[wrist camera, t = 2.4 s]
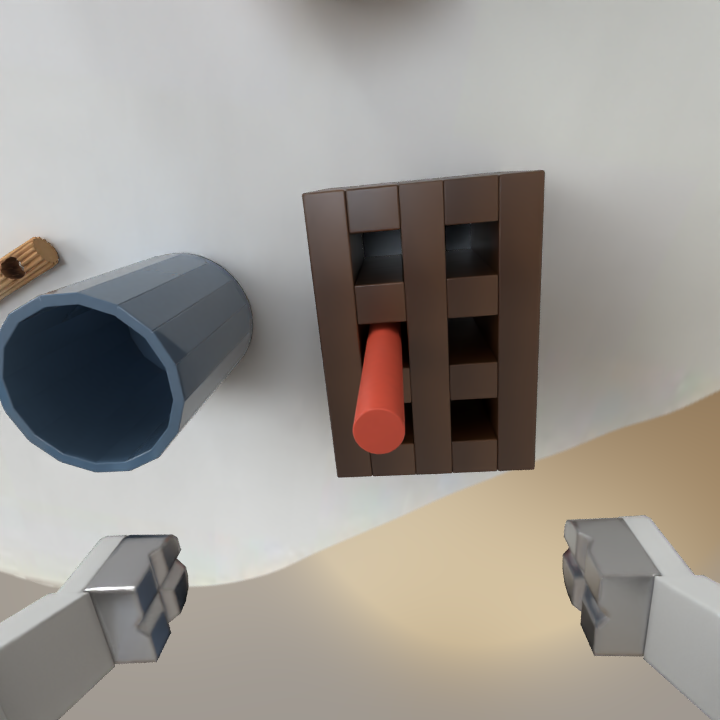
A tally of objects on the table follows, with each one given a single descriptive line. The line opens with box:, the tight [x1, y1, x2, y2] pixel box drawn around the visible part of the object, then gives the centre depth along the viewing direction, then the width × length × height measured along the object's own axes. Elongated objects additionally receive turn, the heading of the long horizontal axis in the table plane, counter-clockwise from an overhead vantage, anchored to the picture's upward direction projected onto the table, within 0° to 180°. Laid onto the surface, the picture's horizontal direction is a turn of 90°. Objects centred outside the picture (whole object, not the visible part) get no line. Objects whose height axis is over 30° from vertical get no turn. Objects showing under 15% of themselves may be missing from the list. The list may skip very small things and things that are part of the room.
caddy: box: [302, 170, 545, 477], centre depth 26 cm, size 10×14×8 cm
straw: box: [353, 322, 405, 454], centre depth 22 cm, size 2×2×16 cm
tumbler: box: [0, 253, 253, 472], centre depth 26 cm, size 8×8×11 cm
